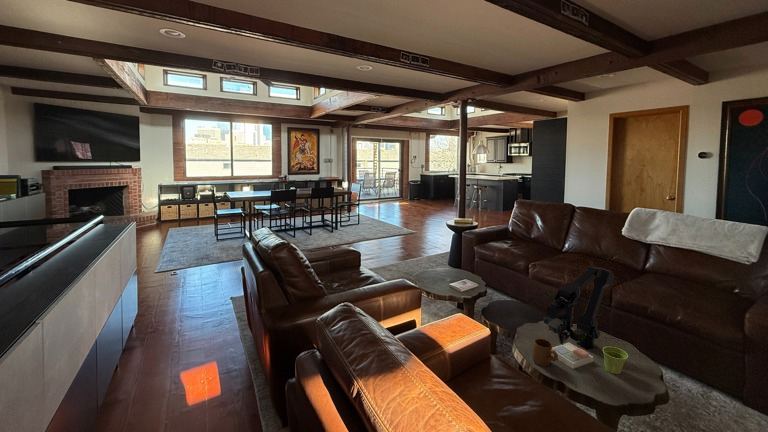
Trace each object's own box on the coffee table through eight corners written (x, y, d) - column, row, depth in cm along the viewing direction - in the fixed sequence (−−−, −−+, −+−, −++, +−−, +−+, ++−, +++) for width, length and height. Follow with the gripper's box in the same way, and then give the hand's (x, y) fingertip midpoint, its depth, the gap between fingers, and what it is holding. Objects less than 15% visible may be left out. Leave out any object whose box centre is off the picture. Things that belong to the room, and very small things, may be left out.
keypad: (568, 347, 177) (569, 342, 177) (592, 362, 166) (593, 356, 165) (548, 353, 172) (549, 348, 172) (572, 369, 161) (573, 363, 160)
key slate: (560, 350, 173) (560, 346, 173) (568, 355, 169) (568, 351, 169) (553, 352, 171) (554, 349, 171) (561, 357, 167) (562, 354, 167)
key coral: (579, 351, 170) (580, 348, 170) (588, 357, 166) (588, 353, 166) (573, 354, 168) (573, 350, 168) (581, 359, 164) (582, 355, 164)
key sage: (570, 357, 168) (571, 353, 168) (579, 362, 164) (579, 358, 164) (564, 359, 166) (564, 355, 166) (572, 364, 162) (572, 360, 162)
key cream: (569, 348, 175) (569, 344, 175) (577, 352, 171) (577, 349, 171) (562, 350, 174) (562, 346, 173) (570, 355, 170) (570, 351, 169)
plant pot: (617, 379, 154) (620, 361, 152) (595, 367, 162) (598, 349, 160) (629, 373, 158) (632, 355, 156) (608, 361, 166) (610, 344, 164)
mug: (562, 370, 160) (564, 350, 158) (549, 374, 157) (551, 354, 155) (541, 355, 171) (543, 337, 169) (528, 358, 168) (530, 340, 166)
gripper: (536, 308, 171) (533, 338, 174) (571, 326, 154) (566, 359, 157) (553, 303, 175) (550, 333, 179) (589, 321, 159) (584, 353, 162)
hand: (562, 344), depth 169 cm, fingers closed
